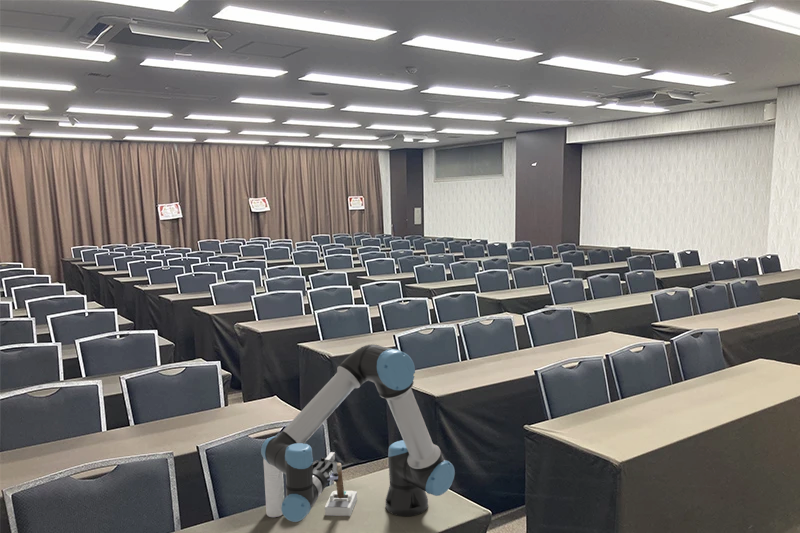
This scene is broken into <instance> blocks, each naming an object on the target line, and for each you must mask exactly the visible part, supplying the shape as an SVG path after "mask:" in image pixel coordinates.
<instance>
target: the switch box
mask: <svg viewBox="0 0 800 533" xmlns="http://www.w3.org/2000/svg"><path fill="white" fill-rule="evenodd" d="M334 494H337V489H336V490H333V491H332V492H331V493H330V495H329V498H328V500H327V501H326V503H325V506H324V516H332V517H333V516H335V517H336V516H338V517H339V516H340V517H351V515H352V513H353V510H354V508H355V506H356V503H357V500H358V491H356V490H344V495H348V498H341V499H340V498H334Z"/></svg>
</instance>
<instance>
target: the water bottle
mask: <svg viewBox="0 0 800 533" xmlns="http://www.w3.org/2000/svg"><path fill="white" fill-rule="evenodd" d="M262 462H263V472H264V473H263V474H264V476H263V477H264V491H265V492H264V493H265V494H264V495H265V496H264V497H265V510H266V512H265V513H266V516H267V517H269V518H276V517H282V516H284V515H283V513H282V510H281V506H282V503H283V501H284V499H285V487H284V486H285V483H284V473H283V472H281V471H280V470H278V469H277V468H276V467H274V466H273V465H271V464H269V463H268V462H267V461H266V460H265V459H264V458H263V461H262Z"/></svg>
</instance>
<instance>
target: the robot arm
mask: <svg viewBox="0 0 800 533" xmlns="http://www.w3.org/2000/svg"><path fill="white" fill-rule="evenodd" d="M336 369H337V370H336V373H335V374H334V376H332V377H331V378H330V380H329V381H328V382H327V383H325V385H324V386H323V387H322V388H321V389H320V390H319V391H318V393H317V394H315V395H314V396H313V398H312V399H311V400H310V401H309V402H308V403H307V404H306V405H305V407H303V409H301V411H299V413H298V414H297V415H296V416H295V417H294V418H293V419H292V420H291V421H290V423H289V424H288V425H287V426H286V427H285V428H283V430H282V432H280V433H279V434H278V435H277V436H271V437H268V438H267V439H265V440H264V442H263V443H262V445H261V449H260V453H261V456H262V458H263V459H265V460H266V461H267V462H268V463H269V464H271V465H273V466H274V467H276V468H277V469H278V470H280V471H281V472H283V475H285V496H284V501H283V503H282V506H281V510H282V513H283V515H282V516H284V518H285V519H286V520H288V521H289V522H294V523H297V522H300V521H302V520H304V519H305V518H306V517H307V515H309V513H310V512H311V509H312V508H313V507H314V505H315V503H316V502H317V500H319V499H318V498H319V497H320V495H321V494H322V493H323V492H324V490H325V488H326V486H327V484H330V482H331V481H333V482H335V483H336V482H337V481H338V472H337V463H338V462H337V461H336V453H335V451H334V452H333V451H331V452H329V453H328V455H327V456H326V457H321V458H320V461H319V460H317V459H316V460H315V461H314V457H313V456H314V455H313V449H312V447H311V445H310V444H308V443H307V441H308V440H309V439H310V438H311V437H312V436H313V435H314V434H315V433H316V431H317V430H318V429H319V428H320V427H321V426H322V425H323V424H324V423H325V421H327V420H328V418H329V417H330V416H331V415H332V414H333V412H334V411H335V410H336V409H338V407H339V406H340V405H341V404H342V402H344V400H346V398H347V397H348V396H349V395H350V394H351V392H352V391H354V389H359V388H360V387H361V386H362V385H363V384H364V383H366V382H372V383H374V385H375V387H376V390H377V392H378V395H379V397H381V398H382V399H385V400H386V401H387V404H388V406H389V409H390V411H391V413H392V416H393V418H394V422H395V423H396V426H397V428H398V430H399V432H400V435H401V438H402V440H397V441H395V442H392V443H391V444H390V445H389V446H388V452H387V454H388V455H387V457H388V472H389V473H388V476H389V477H388V478H389V479H388V480H389V485H388V490H387V494H386V497H385V508H386V511H388V512H389V513H390V514H392V515H394V516H399V517H412V516H417V515H420V514H422V513H424V512H425V511H427V509H428V507H429V501H428V500H429V499H428V495H433V496H436V497H437V496H442V495H444V494H445V493H446V492H447V491H449V489H450V488H451V486H452V484H453V481H454V480H455V475H456V472H455V471H456V470H455V466H454V465H453V463H451V462H450V461H449V460H446V459H445V458H444V455H443V453H442V451H441V449H440V447H439V446H438V445H437V444H434V443H433V441H432V438H431V435H430V433H429V430H428V427H427V426H426V422H425V419H424V418H423V414H422V412H421V410H420V407H419V405H418V402H417V400H416V398H415V395H414V394H415V393H414V392H413V389H412V388H413V385H414V382H415V381H414V379H415V376H414V375H415V373H416V367H415V363H414V361H413V359H412V358H411V356H410V355H409V354H408V353H406V352H404V351H401V350H400V349H397V348H391V347H386V346H382V345H379V344H366V345H364V346H361V347H359V348H357V349H356V350H355V351H353V352H352V353H350V355H348V356H347V357H346V358H345V359H344V360H343V361H342V362H341V363H340V364H339V365H338V366H337V368H336ZM331 471H332V472H331ZM330 473H331V474H330ZM329 474H330V475H329Z"/></svg>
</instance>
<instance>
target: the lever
mask: <svg viewBox="0 0 800 533" xmlns="http://www.w3.org/2000/svg"><path fill="white" fill-rule="evenodd" d="M337 472H338V481H337V482H335V485H336V486H335V487H336V490H337V494H334V498H340V499H341V498H348V495H344V491H345V489H344V478H343V467H342V463H341V462H337Z"/></svg>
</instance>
